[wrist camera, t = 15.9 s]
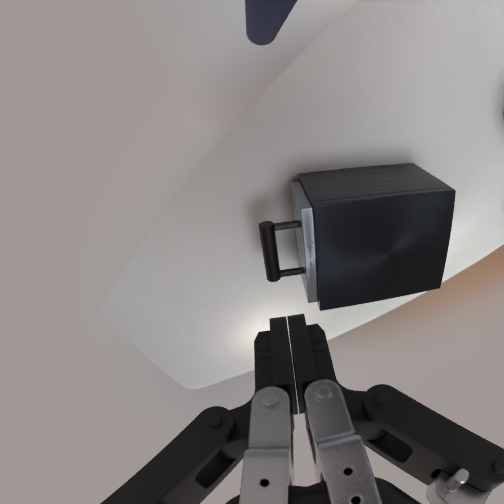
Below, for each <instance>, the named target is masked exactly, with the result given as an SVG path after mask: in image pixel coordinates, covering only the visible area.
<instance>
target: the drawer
mask: <svg viewBox="0 0 504 504" xmlns="http://www.w3.org/2000/svg"><path fill="white" fill-rule="evenodd" d="M290 186H291V195H292V204H293V213H294V221H289V222H282V223H275V224H274V223H273V222H271V221H264V222H261V223H260V224H259V232H260V238H261V244H262V250H263V256H264V263H265V269H266V275H267V280H268V281H270V282H276V281H278V280H279V279H280V278H281V277H284V276H291V275H298V274H301V276H302V280H303V284H304V288H305V292H306V296H307V300H308V303H311V302H318V282H317V262H316V245H315V230H314V216H313V207H312V205H311V203H310V201H309V199H308V197H307V195H306V193H305V191H304V189H303V187H302V185H301V183H300V181H298V182H291V183H290ZM290 228H295V232H296V242H297V252H298V263H299V268H292V269H285V270H280V268H279V260H278V252H277V245H276V238H275V231H276V230H283V229H290Z"/></svg>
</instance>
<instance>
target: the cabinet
mask: <svg viewBox="0 0 504 504" xmlns="http://www.w3.org/2000/svg"><path fill="white" fill-rule="evenodd" d="M298 177H299V181H300V183H301V185H302V187H303V189H304V191H305V193H306V195H307V197H308V199H309V201H310V203H311V205H312V207H313V216H314V230H315V245H316V262H317V282H318V305H319V309H320V311H322V310H328V309H334V308H340V307H346V306H352V305H358V304H363V303H369V302H374V301H380V300H385V299H390V298H395V297H400V296H405V295H410V294H415V293H419V292H424V291H429V290H433V289H438V288H440V286H441V282H442V277H443V272H444V267H445V262H446V257H447V251H448V246H449V240H450V233H451V226H452V219H453V211H454V202H455V192H456V191H455V190H454V189H453V188H451V187H450V186H448V185H447V184H445V183H444V182H442V181H441V180H439V179H437V178H436V177H434V176H433V175H431V174H430V173H428V172H426V171H425V170H423V169H421V168H420V167H418V166H416V165H415V164H398V165H385V166H372V167H361V168H350V169H340V170H330V171H321V172H313V173H304V174H298Z"/></svg>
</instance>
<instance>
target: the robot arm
mask: <svg viewBox="0 0 504 504" xmlns="http://www.w3.org/2000/svg"><path fill="white" fill-rule="evenodd" d="M287 317H288V326H289V335H290V342H289V335H288V327H287V320H286V317H278V318H271V319H270V331H263V332H259V333H258V335H257V337H256V339H255V341H254V351H255V393H254V395H253V397H252V398H251V400H250V401H249V402H247V403H246V404H244V405H243V406H240V407H237V408H235V409H232V410H227V409H226V408H224V407H219V406H214V407H210V408H207V409H205V410H204V411H202V412H201V413H200V414H199V415H198V416H197V417H196V418H195V419H194V420H193V421H192V422H191V423H190V424H189V425H188V426H187V427H186V428H185V429H184V430H183V431H182V432H181V433H180V434H179V435H178V436H177V437H176V438H174V439H173V440H172V441H171V442H170V443H169V444H168V445H167V446H166V447H165V448H164V449H163V450H162V451H161V452H159V453H158V454H157V456H155V457H154V458H153V459H152V460H151V461H150V462H149V463H147V464H146V465H145V466H144V467H143V468H142V469H141V470H140V471H138V472H137V473H136V474H135V475H134V476H133V477H132V478H130V479H129V480H128V481H127V482H126V483H125V484H123V485H122V486H121V487H120V488H119V489H118V490H116V491H115V492H114V493H113V494H112V495H110V496H109V497H108V498H107V499H106V500H104V501H103V502H102V503H101V504H200V503H201V502H202V501H203V500H204V499H205V498H206V497H207V496H208V495H209V494H210V493H211V492H212V491H213V490H214V489H215V488H216V486H218V485H219V483H221V481H222V480H223V479H224V478H225V477H226V476H227V475H228V474H229V473H230V472H231V471H232V470H233V469H234V467H235V466H236V465H237V464H238V463H239V462H240V461H241V460H242V459H243V468H242V479H241V489H240V495H238V496H236V497H234V498H232V499H231V500H229V501H228V502H227V503H226V504H421V503H419V502H418V501H416V500H415V499H413V498H411V497H410V496H409V495H407V494H406V493H404V492H403V491H402V490H400V489H399V488H397V487H396V486H394V485H393V484H391V483H390V482H388V481H386V480H383V479H381V478H376V477H374V475H373V472H372V468H371V466H370V462H369V459H368V456H367V453H366V450H365V446H367V447H368V448H370V449H371V450H373V451H374V452H376V453H377V454H379V455H380V456H382V457H383V458H385V459H386V460H388V461H389V462H391V463H392V464H394V465H396V466H397V467H399V468H400V469H402V470H403V471H405V472H406V473H408V474H410V475H411V476H413V477H414V478H416V479H418V480H420V481H421V482H423V483H425V484H426V485H428V488H427V493H426V495H427V499H428V501H429V502H430V503H431V504H484V503H485V501H486V500H487V498H488V496H489V495H490V493H491V491H492V490H493V489H494V488H496V487H497V486H499V485H500V484H502V483H503V482H504V449H503V448H501V447H499V446H497V445H495V444H493V443H491V442H489V441H488V440H486V439H484V438H482V437H480V436H478V435H476V434H474V433H473V432H471V431H469V430H467V429H465V428H463V427H462V426H460V425H458V424H456V423H454V422H452V421H451V420H449V419H447V418H445V417H444V416H442V415H440V414H438V413H437V412H435V411H433V410H431V409H430V408H428V407H426V406H424V405H423V404H421V403H419V402H417V401H416V400H414V399H412V398H410V397H408V396H407V395H405V394H403V393H402V392H400V391H398V390H397V389H395V388H393V387H391V386H389V385H384V384H380V385H375V386H373V387H371V388H370V389H368V390H367V392H365V391H354V390H349V389H346V388H344V387H343V386H342V385H340V384H339V383H338V381H337V379H336V376H335V372H334V368H333V364H332V360H331V356H330V352H329V348H328V344H327V340H326V336H325V332H324V331H323V329H322V328H321V327H320V326H319V325H318V324H313V325H306V321H305V316H304V314H299V315H292V316H287ZM290 344H291V349H290ZM291 352H292V357H291ZM292 359H293V364H292ZM293 367H294V372H293ZM294 374H295V380H294ZM295 382H296V389H295ZM296 390H297V397H298V405H299V412H300V414H301V413H305V420H306V430H307V435H308V439H309V444H310V449H311V453H312V457H313V462H314V467H315V474H316V479H317V483H316V484H314V485H311V486H308V487H302V486H294V439H293V438H294V436H293V431H294V417H293V415H295V414H298V409H297V399H296ZM364 445H365V446H364Z"/></svg>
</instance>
